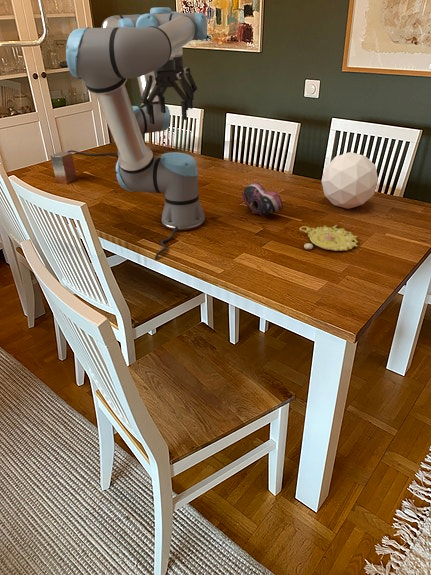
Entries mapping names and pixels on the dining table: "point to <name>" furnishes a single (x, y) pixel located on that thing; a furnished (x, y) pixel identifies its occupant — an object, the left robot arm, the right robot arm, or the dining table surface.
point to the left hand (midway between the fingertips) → (177, 110)
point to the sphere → (349, 180)
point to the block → (63, 167)
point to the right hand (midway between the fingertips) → (168, 121)
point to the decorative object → (330, 238)
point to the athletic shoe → (261, 200)
